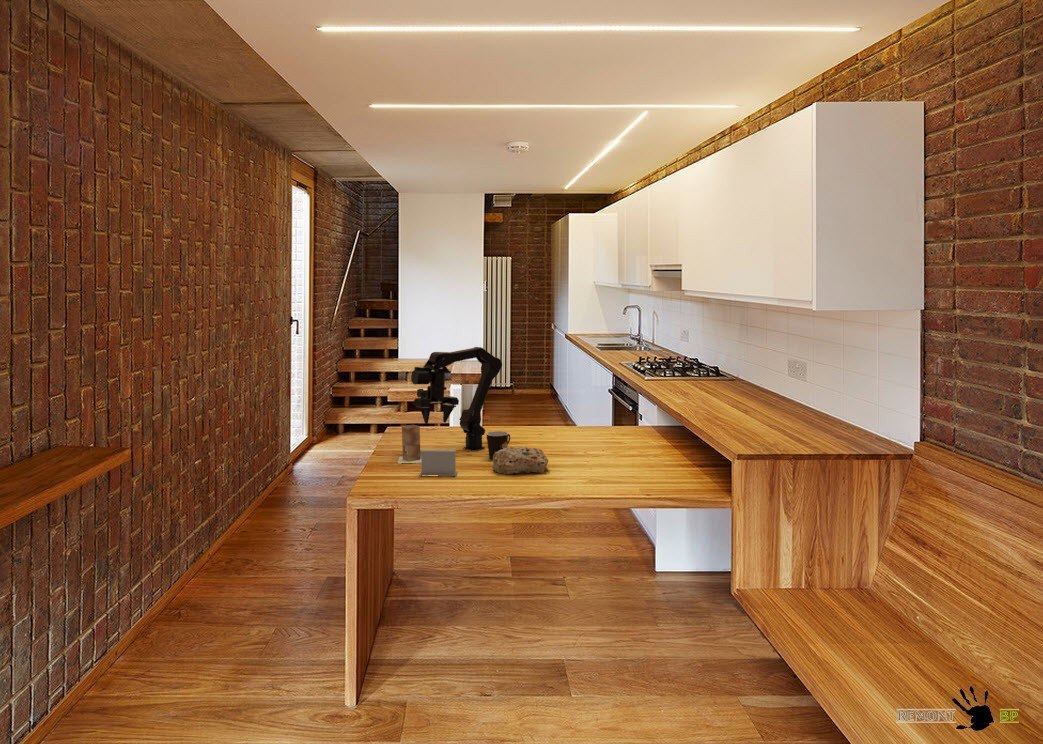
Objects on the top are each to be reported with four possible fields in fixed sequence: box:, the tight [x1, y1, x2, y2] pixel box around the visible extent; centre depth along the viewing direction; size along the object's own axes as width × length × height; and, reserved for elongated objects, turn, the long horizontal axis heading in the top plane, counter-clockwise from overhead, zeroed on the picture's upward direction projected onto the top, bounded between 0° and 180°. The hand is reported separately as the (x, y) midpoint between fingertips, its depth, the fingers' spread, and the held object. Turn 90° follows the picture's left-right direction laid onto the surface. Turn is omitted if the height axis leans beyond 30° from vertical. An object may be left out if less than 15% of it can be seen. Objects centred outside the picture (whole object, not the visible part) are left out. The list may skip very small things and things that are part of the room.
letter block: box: [401, 424, 421, 462], centre depth 291 cm, size 5×5×13 cm
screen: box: [419, 449, 458, 477], centre depth 271 cm, size 13×4×9 cm, turn 86°
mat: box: [397, 455, 421, 465], centre depth 292 cm, size 10×10×1 cm
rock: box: [492, 446, 549, 475], centre depth 276 cm, size 21×14×10 cm
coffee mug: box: [485, 430, 511, 461], centre depth 294 cm, size 12×9×10 cm
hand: (435, 423), depth 298 cm, fingers open, 9 cm apart
